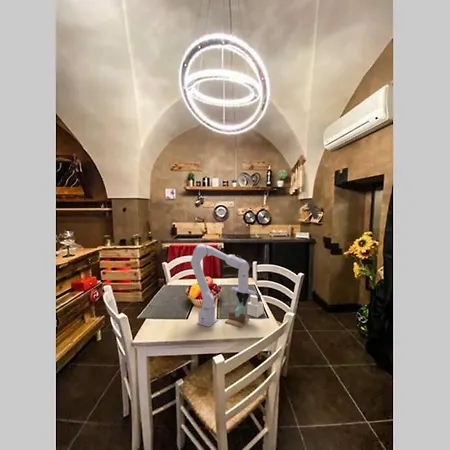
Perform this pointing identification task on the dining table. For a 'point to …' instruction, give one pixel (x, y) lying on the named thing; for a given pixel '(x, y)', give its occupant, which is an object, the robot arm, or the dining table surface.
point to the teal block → (239, 309)
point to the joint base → (236, 319)
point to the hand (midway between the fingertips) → (242, 305)
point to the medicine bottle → (255, 306)
